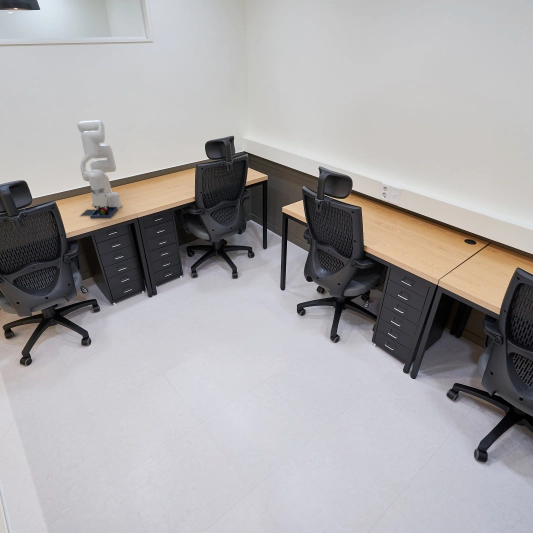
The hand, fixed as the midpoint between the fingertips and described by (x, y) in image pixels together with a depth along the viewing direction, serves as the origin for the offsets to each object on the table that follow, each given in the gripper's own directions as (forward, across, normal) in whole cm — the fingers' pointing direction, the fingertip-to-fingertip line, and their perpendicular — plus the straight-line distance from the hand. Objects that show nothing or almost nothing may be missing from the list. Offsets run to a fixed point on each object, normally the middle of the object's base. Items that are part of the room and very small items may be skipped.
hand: (104, 213), depth 261 cm
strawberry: (0, 0, -1) cm, 1 cm away
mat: (+1, +13, -3) cm, 13 cm away
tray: (+1, 0, -1) cm, 1 cm away
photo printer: (+1, -3, -13) cm, 13 cm away
